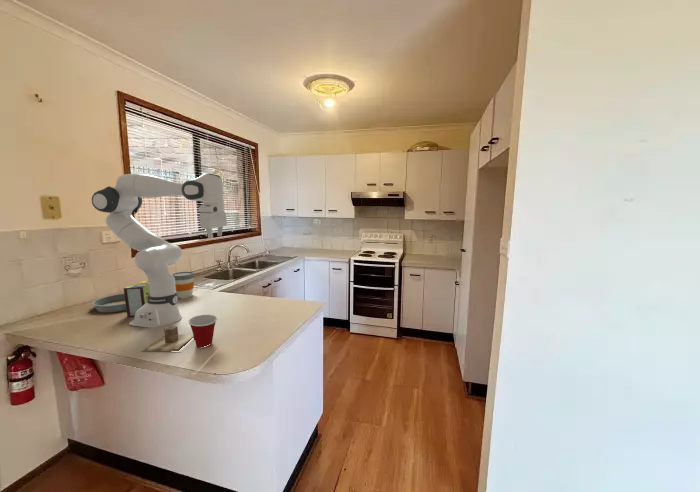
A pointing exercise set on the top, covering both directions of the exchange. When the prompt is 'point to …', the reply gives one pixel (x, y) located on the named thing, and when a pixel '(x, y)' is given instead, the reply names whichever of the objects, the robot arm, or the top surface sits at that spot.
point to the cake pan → (110, 303)
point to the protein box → (136, 296)
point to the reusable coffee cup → (184, 284)
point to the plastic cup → (203, 329)
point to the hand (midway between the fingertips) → (215, 236)
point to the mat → (154, 351)
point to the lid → (170, 340)
